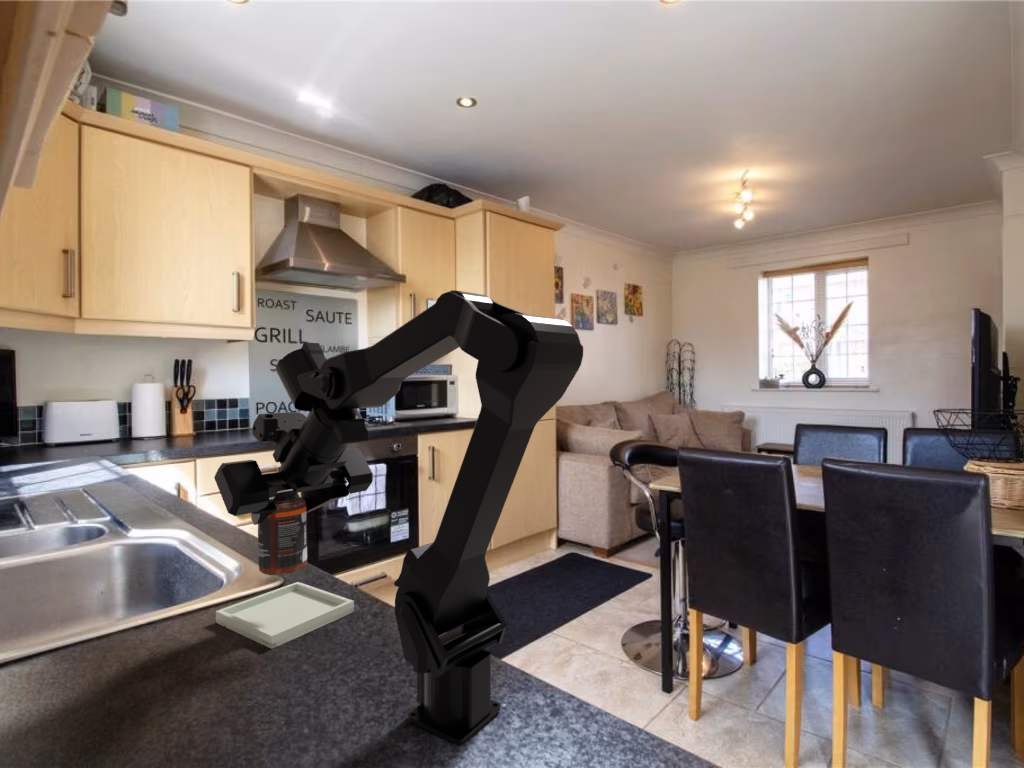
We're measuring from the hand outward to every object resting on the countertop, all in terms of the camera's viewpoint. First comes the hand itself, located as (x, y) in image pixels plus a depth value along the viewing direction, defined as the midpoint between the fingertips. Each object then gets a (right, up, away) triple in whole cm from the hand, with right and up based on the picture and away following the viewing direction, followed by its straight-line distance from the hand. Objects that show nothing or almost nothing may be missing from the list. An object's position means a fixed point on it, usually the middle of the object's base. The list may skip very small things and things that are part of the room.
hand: (277, 516), depth 74 cm
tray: (+1, -13, 0) cm, 13 cm away
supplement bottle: (+1, -7, -1) cm, 7 cm away
